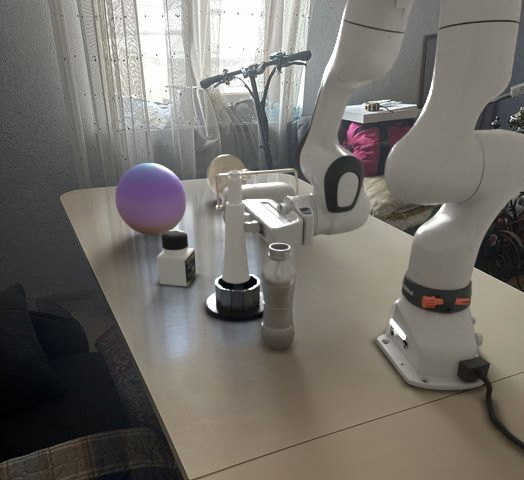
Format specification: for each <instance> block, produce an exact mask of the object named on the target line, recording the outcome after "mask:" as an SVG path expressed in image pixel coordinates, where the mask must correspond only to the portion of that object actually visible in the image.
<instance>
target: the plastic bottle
mask: <svg viewBox="0 0 524 480" xmlns="http://www.w3.org/2000/svg"><path fill="white" fill-rule="evenodd" d="M267 255H268V258H269V259H268V260H267V261H266V262H265V264H264V265H263V267H262V268H261V271H260V284H261V288H262V293H263V300H264V311H263V316H262V321H261V323H260V330H259V331H260V332H259V334H260V338H261V341H262V343H263V344H264V346H266V347H268V348H271V349H274V350H275V349H276V350H277V349H278V350H281V349H285V348H288V347H289V346H291V344H292V343H293V342H294V340H295V339H294V338H295V334H296V333H295V325H294V317H293V304H294V303H293V302H294V293H295V290H296V289H295V288H296V283H297V276H298V275H297V270H296V268H295V267H294V265H293V263H292V262H291V261H290V258H291V246H289V245H287V244H283V243H274V244H271V245H269V248H268V254H267Z"/></svg>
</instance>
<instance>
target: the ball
mask: <svg viewBox="0 0 524 480" xmlns="http://www.w3.org/2000/svg"><path fill="white" fill-rule="evenodd" d="M114 199H115V206H116V210H117V212H118V214H119V216H120V218H121V220H123V222H124V223H125V224H126V225H127V226H128V227H129V228H130V229H132V230H133V231H135V232H136V233H139V234H141V235H145V236H153V237H154V236H161V235H162V234H163V233H164V232H166V231H169V230H174V229H175V228H176V227H177V226H178V225H179V223H180V222H181V221H182V220H183V218H184V215H185V213H186V208H187V197H186V192H185V188H184V185H183V183H182V181H181V180H180V178H179V177H178V176H177V174H175V173H174V172H173V171H172V170H170V169H169V168H167V167H165V166H164V165H162V164H159V163H154V162H153V163H152V162H144V163H139V164H137V165H134V166H132V167H130V168H129V169H128V170H126V171H125V172H124V173H123V174H122V176H121V177H120V178H119V180H118V183H117V186H116V190H115V197H114Z"/></svg>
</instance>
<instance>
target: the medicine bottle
mask: <svg viewBox="0 0 524 480" xmlns="http://www.w3.org/2000/svg"><path fill="white" fill-rule="evenodd" d="M160 238H161V239H160V240H161V248H162V251H161V252H160V253H159V254H158V255H157V256H156V267H157V275H158V283H159V285H164V286H165V285H166V286H175V287H186V288H187V287H188V286H189V285H190V284H191V282H192V281H193V280H194V278H195V277H196V276H197V267H196V253H195V248H193V247H192V248H191V247H189V237H188V233H187V232H186V231H184V230H181V229H172V230H169V231H166V232H164V233H163V234H161V235H160Z"/></svg>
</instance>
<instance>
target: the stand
mask: <svg viewBox="0 0 524 480" xmlns="http://www.w3.org/2000/svg"><path fill="white" fill-rule="evenodd" d="M249 274H250V279H249V280H248V281H247V282H244V283H239V284H232V283H228V282H225V281H224V280H223V279H222V274H221V275H220V276H219V277H217V278H215V281H214V291H215V292H213V293H211V294H210V295H209V296H208V297H207V299H206V301H205V302H206V303H205V304H206V305H205V306H206V307H205V308H206V311H207V312H208V313H209V315H211V317H214V318H216V319H219V320H222V321H226V322H238V323H239V322H248V321H249V322H250V321H253V320H256V319H259V318H261V317H263V311H264V300H263V292H261V278H259V277H257V276H256V275H255V274H251V273H249Z"/></svg>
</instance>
